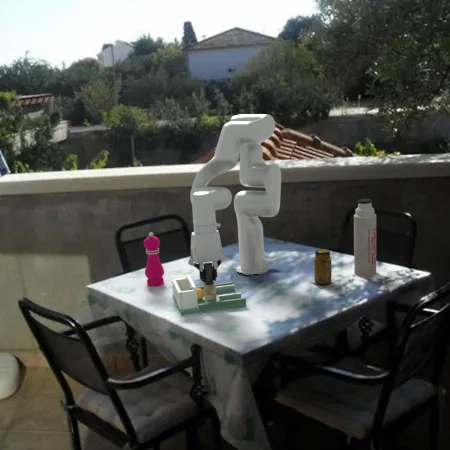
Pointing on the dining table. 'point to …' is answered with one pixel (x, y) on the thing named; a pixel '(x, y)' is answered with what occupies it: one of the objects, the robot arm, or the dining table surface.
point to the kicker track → (227, 296)
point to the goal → (185, 293)
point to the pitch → (214, 302)
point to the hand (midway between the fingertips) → (208, 280)
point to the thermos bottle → (365, 239)
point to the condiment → (323, 269)
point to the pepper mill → (153, 261)
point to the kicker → (209, 282)
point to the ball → (200, 293)
